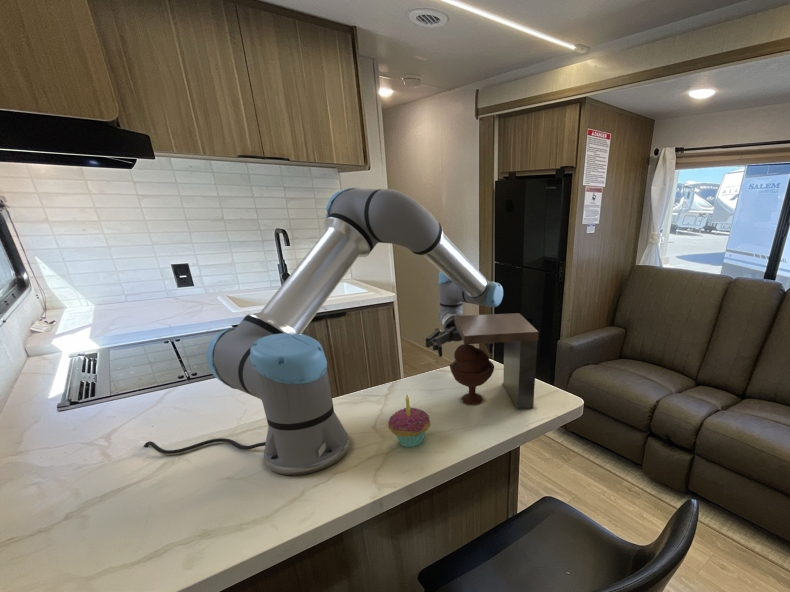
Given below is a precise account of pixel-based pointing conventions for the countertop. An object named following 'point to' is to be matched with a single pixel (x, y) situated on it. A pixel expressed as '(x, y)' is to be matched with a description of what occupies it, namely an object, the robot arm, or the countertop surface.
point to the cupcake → (409, 425)
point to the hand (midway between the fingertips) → (466, 350)
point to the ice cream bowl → (471, 370)
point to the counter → (507, 349)
